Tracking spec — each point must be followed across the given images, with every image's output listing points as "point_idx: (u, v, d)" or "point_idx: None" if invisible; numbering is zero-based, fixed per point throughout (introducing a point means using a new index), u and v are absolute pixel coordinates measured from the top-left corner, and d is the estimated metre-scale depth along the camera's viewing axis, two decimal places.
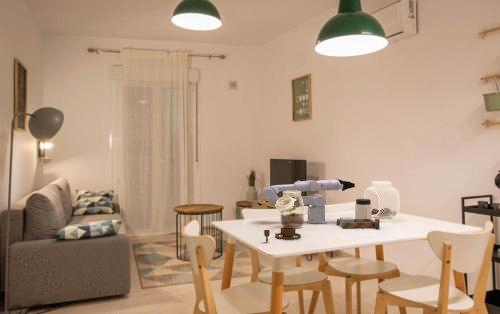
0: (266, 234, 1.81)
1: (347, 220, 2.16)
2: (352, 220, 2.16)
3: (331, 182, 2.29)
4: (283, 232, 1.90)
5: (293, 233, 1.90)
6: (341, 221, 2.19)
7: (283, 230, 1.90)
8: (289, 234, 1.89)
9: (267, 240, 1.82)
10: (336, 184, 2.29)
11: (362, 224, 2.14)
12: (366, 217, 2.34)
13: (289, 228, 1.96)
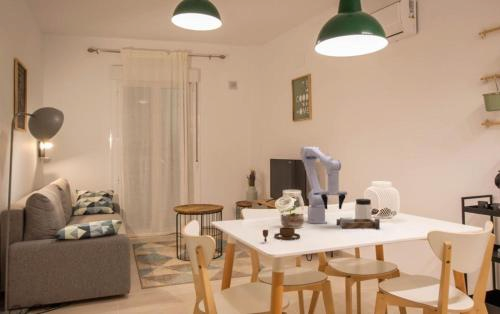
0: (265, 234, 1.81)
1: (347, 220, 2.16)
2: (352, 220, 2.16)
3: (329, 185, 2.16)
4: (282, 232, 1.90)
5: (292, 233, 1.90)
6: (341, 221, 2.19)
7: (282, 230, 1.90)
8: (288, 234, 1.89)
9: (266, 240, 1.82)
10: (328, 190, 2.17)
11: (362, 224, 2.14)
12: (366, 217, 2.34)
13: (288, 228, 1.95)
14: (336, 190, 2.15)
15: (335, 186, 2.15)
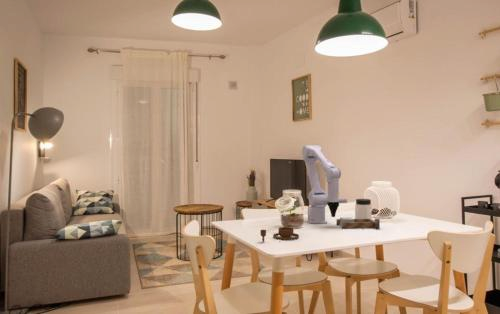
0: (262, 234, 1.81)
1: (347, 220, 2.16)
2: (352, 220, 2.16)
3: (329, 193, 2.16)
4: (281, 232, 1.90)
5: (291, 233, 1.89)
6: (341, 221, 2.19)
7: (281, 230, 1.90)
8: (286, 234, 1.89)
9: (263, 240, 1.82)
10: (328, 198, 2.17)
11: (362, 224, 2.14)
12: (366, 217, 2.34)
13: (287, 228, 1.95)
14: (336, 198, 2.15)
15: (335, 194, 2.15)
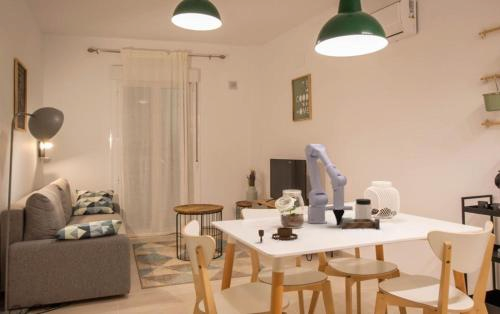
0: (260, 234, 1.82)
1: (347, 220, 2.16)
2: (352, 220, 2.16)
3: (335, 200, 2.16)
4: (279, 232, 1.90)
5: (289, 233, 1.89)
6: (341, 221, 2.19)
7: (279, 230, 1.90)
8: (285, 234, 1.88)
9: (261, 240, 1.82)
10: (333, 205, 2.18)
11: (362, 224, 2.14)
12: (366, 217, 2.34)
13: (287, 228, 1.95)
14: (342, 205, 2.16)
15: (341, 201, 2.16)
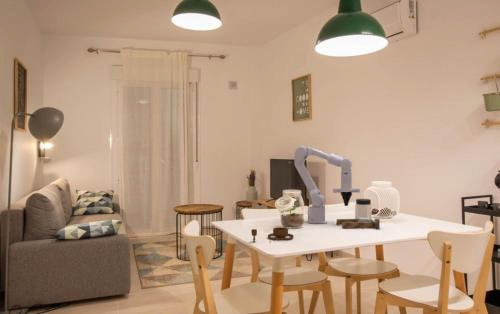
0: (253, 233, 1.82)
1: (364, 220, 2.16)
2: (370, 220, 2.16)
3: (343, 183, 2.25)
4: (274, 232, 1.89)
5: (284, 234, 1.88)
6: (358, 221, 2.19)
7: (274, 230, 1.89)
8: (280, 235, 1.88)
9: (254, 239, 1.83)
10: (341, 187, 2.26)
11: (362, 224, 2.14)
12: None
13: (283, 229, 1.94)
14: (349, 187, 2.24)
15: (348, 184, 2.24)
